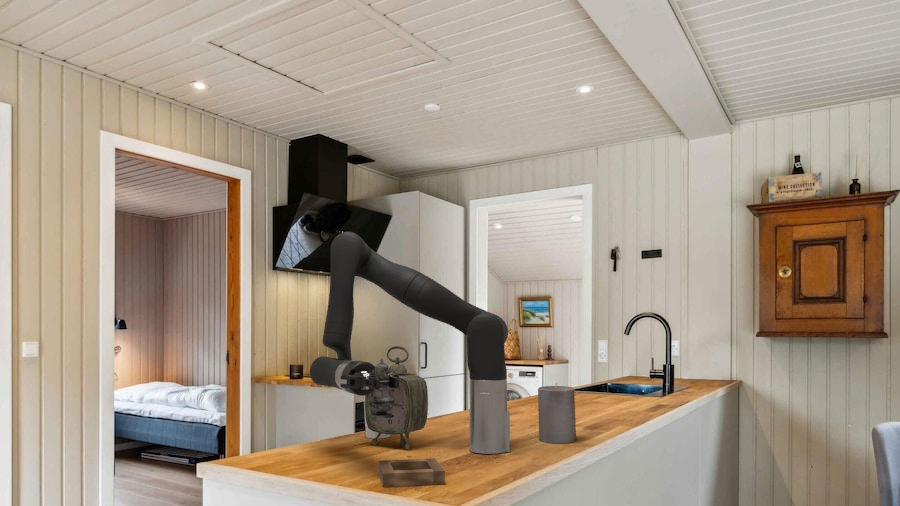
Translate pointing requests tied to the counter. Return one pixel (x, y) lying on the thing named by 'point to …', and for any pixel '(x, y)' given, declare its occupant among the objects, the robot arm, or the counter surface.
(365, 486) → the counter surface
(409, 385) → the tabletop clock
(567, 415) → the pillar candle
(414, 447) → the counter surface
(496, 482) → the counter surface
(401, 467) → the socket block
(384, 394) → the chess piece
